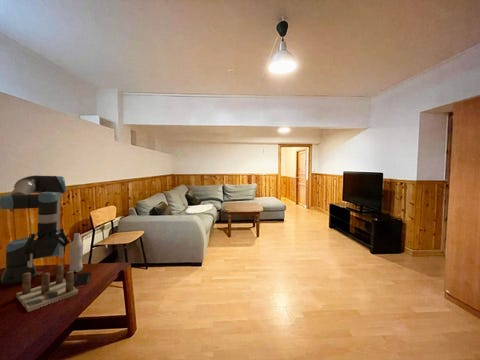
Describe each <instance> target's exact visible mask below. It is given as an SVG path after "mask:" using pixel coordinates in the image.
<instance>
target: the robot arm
mask: <svg viewBox="0 0 480 360" xmlns="http://www.w3.org/2000/svg"><path fill="white" fill-rule="evenodd" d="M65 193H67V188H66V180H65V178H64V177H63V176H62V175H61V176H60V175H28V176H25V177H22V178H20V179H18V180H17V181H16V182H15V184H14V186H13V189H12V192H11V193H10V194H3V195H1V196H0V209H1V210H9V211H10V210H25V209H27V210H28V209H37V212H38V213H37V222H38V223H37V231H36V233H29V235H28V237H23V238H17V239H14V240H12V241H10V242H8V243H7V244H6V248H5V269H4V270H3V273H2V275H1V278H0V283H1V284H3V285H14V284H20V283H22V275H23V274H24V273H31V280H32V279H33V278H36V276H37V268H36V266H35V264H34V260H37V259H43V258H45V259H46V258H52V257H56V256H57V257H58V258H59V259H64V258H65V257H64V255H65V254H64V252H66V247H67V246H68V245H69V244H70V241H69V239H68V237H67V236H66V234H65V232H64V231H65V230H64V228H60V226H61V225H60V223H61V222H60V221H61V198H62V197H64V194H65ZM36 237H37V238H36ZM35 238H36V239H35Z"/></svg>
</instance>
